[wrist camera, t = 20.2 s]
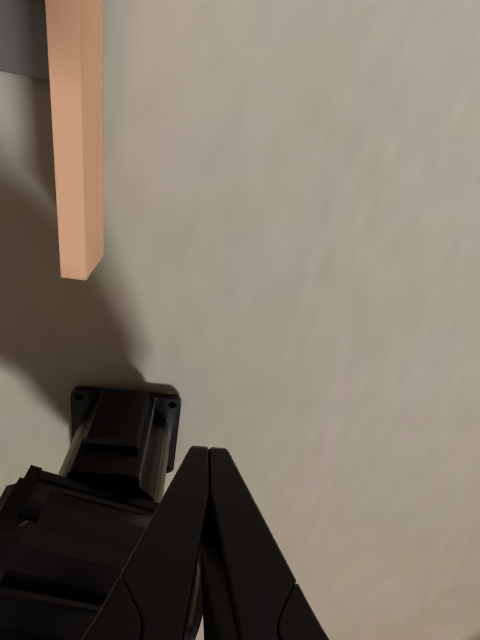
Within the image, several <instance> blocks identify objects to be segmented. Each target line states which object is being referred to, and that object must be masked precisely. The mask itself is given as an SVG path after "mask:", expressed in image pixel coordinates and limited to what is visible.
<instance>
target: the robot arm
mask: <svg viewBox="0 0 480 640" xmlns="http://www.w3.org/2000/svg"><path fill="white" fill-rule="evenodd" d="M78 394H82V395H83V396H79V395H78ZM170 402H175V403H176V404H171V403H170ZM180 408H181V399H180V397H179V396H177V395H173V394H161V393H150V392H139V391H128V390H117V389H106V388H95V387H84V386H77V387H75V388H74V389H73V391H72V393H71V415H72V434H73V441H72V443H71V445H70V448H69V450H68V453H67V455H66V457H65V460H64V462H63V464H62V467H61V469H60V471H59V474H58V475H57V474H53V473H50V472H46V471H43V470H42V468H40V467H36V466H33V465H31V466H30V468H29V470H28V472H27V473H26V475H25V477H24V478H19V480H18V481H17V483H16V484H12V485H8V486H6V488H5V490H4V492H3V494H2V495H1V497H0V640H195V639H196V636H197V633H198V630H199V627H200V623H201V619H202V615H203V624H204V640H329V638H328V637H327V635H326V633H325V632H324V630H323V629H322V627H321V625H320V623H319V621H318V620H317V618H316V616H315V614H314V612H313V611H312V609H311V607H310V605H309V604H308V602H307V600H306V598H305V596H304V594H303V592H302V590H301V588H300V586H299V585H298V584H295V583H296V579H295V577H294V575H293V573H292V572H291V570H290V568H289V566H288V564H287V562H286V560H285V558H284V556H283V554H282V553H281V551H280V549H279V547H278V545H277V543H276V541H275V539H274V537H273V535H272V533H271V532H270V530H269V528H268V526H267V524H266V522H265V520H264V518H263V516H262V514H261V513H260V511H259V509H258V507H257V505H256V503H255V501H254V499H253V497H252V495H251V493H250V492H249V490H248V488H247V486H246V484H245V482H244V480H243V478H242V476H241V474H240V473H239V471H238V469H237V467H236V465H235V463H234V461H233V459H232V457H231V455H230V453H229V452H228V450H227V449H225V448H216V447H211V448H210V449H208V448H207V447H203V446H192V447H191V448H190V449H189V451H188V453H187V454H186V456H185V458H184V460H183V462H182V463H181V465H180V467H179V469H178V471H177V473H176V474H175V476H174V478H173V480H172V482H171V483H170V485H169V487H168V489H167V491H166V492H165V494H164V496H163V492H164V484H165V477H166V473H169V472H171V471H173V468H174V460H175V451H176V443H177V434H178V425H179V417H180ZM167 465H168V466H167Z"/></svg>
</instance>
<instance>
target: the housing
mask: <svg viewBox="0 0 480 640" xmlns="http://www.w3.org/2000/svg"><path fill="white" fill-rule="evenodd" d="M0 71H2V72H8V73H13V74H19V75H24V76H30V77H36V78H41V79H47V80H50V77H49V59H48V41H47V24H46V6H45V0H0Z"/></svg>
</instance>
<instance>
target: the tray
mask: <svg viewBox="0 0 480 640" xmlns="http://www.w3.org/2000/svg"><path fill="white" fill-rule="evenodd" d="M45 6H46V24H47V41H48V59H49V77H50V94H51V112H52V129H53V147H54V165H55V182H56V200H57V217H58V235H59V253H60V270H61V277H63V278H71V279H79V280H87V278H88V277H89V275H90V274H91V273H92V271H93V270H94V268H95V267H96V266H97V264H98V263H99V262H100V260H101V259H102V257H103V256H104V134H103V0H45Z"/></svg>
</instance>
